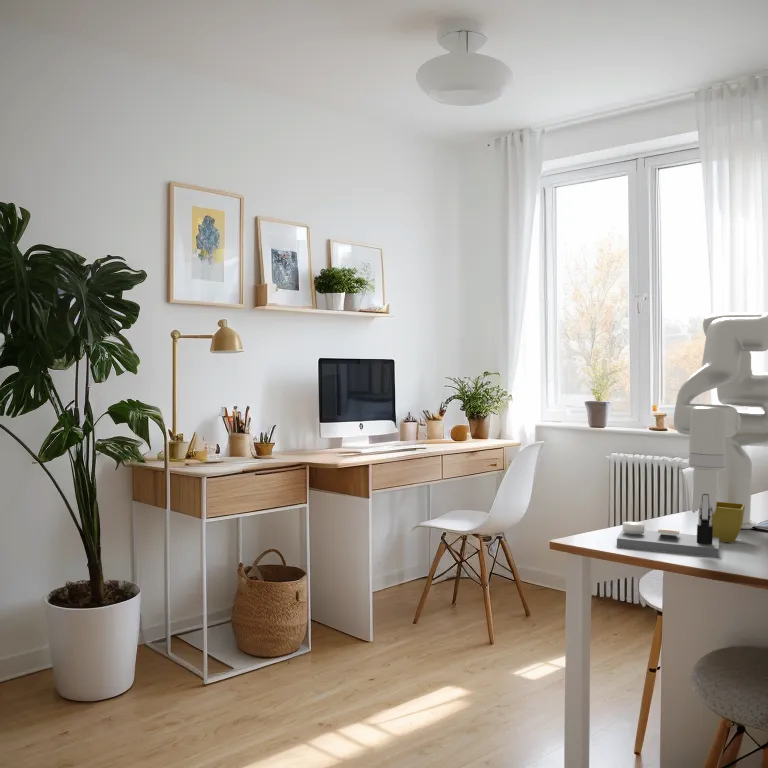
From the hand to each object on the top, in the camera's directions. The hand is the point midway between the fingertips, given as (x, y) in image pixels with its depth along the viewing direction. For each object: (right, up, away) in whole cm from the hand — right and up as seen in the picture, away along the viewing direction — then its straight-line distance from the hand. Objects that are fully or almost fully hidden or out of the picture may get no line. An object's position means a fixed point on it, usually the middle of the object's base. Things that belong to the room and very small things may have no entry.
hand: (704, 543), depth 173 cm
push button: (-12, 0, +14) cm, 18 cm away
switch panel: (-4, -3, +10) cm, 12 cm away
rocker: (-4, 0, +10) cm, 11 cm away
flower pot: (+12, -3, +18) cm, 23 cm away
